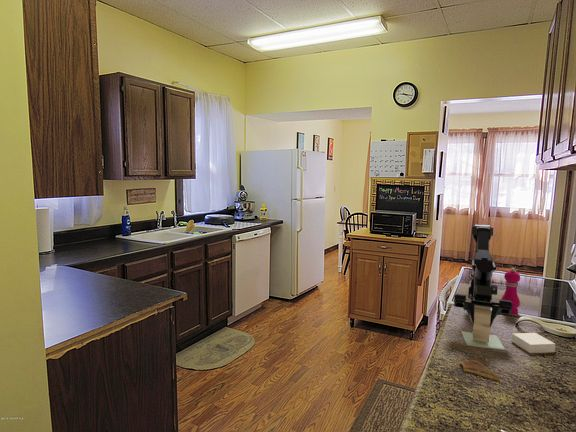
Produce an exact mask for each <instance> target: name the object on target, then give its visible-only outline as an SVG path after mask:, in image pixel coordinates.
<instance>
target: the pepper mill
mask: <svg viewBox="0 0 576 432" xmlns="http://www.w3.org/2000/svg"><path fill="white" fill-rule="evenodd" d="M503 276H504V280H505V283H504V284H505V291H504V293H503V295H502V297H501V298H500V300H508V301H511V302H512V304H513V308H512V311H511V314H510V315H517V314H518V313H519V309H518V308H519V307H520V306H521V301H520V297H519V295H518V291H517V290H518V287H519V281H521V275H520V274H519V273H518V272H517V271H516V268H515V267H511V268H510V270H508V271H506V272H505V273H504V275H503Z"/></svg>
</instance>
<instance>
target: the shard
mask: <svg viewBox="0 0 576 432" xmlns="http://www.w3.org/2000/svg"><path fill="white" fill-rule="evenodd" d="M459 363H460V365H462V367H463V371H464V372H466V373H472V374H475V375H478V376H481V377H484V378H488V379H490V380H495V381H498V382H499V381H500V380H501V379H502V377H500V376H498V375H497V374H496V373H495V372H494V371H493V370H492V369H490V368H489V367H488V366H487V365H485V364H484V363H482V362H481V361H478V360H474V359H463V360H462V359H460V360H459Z"/></svg>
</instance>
